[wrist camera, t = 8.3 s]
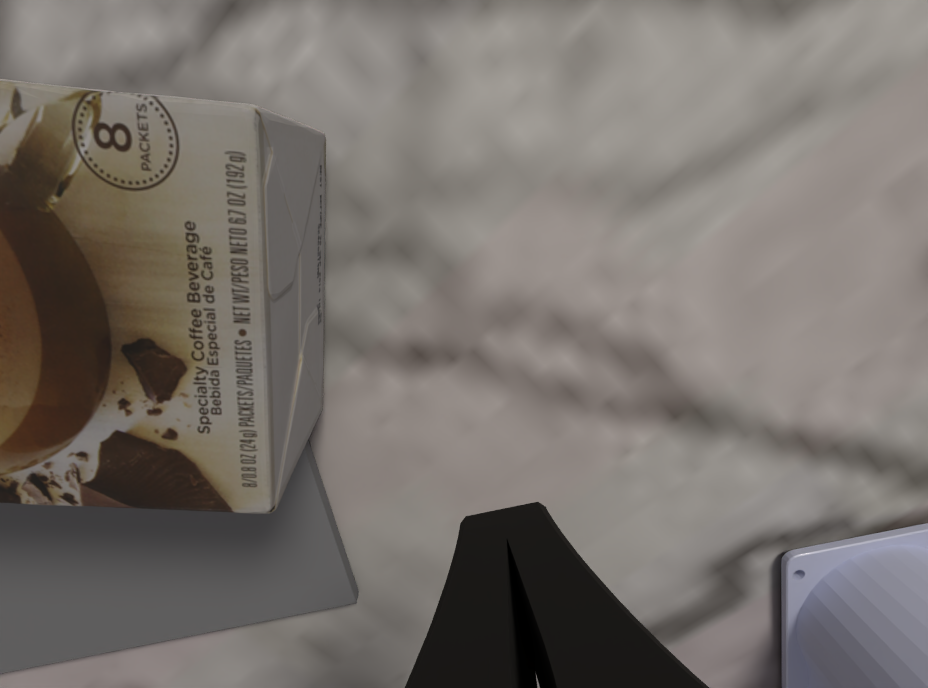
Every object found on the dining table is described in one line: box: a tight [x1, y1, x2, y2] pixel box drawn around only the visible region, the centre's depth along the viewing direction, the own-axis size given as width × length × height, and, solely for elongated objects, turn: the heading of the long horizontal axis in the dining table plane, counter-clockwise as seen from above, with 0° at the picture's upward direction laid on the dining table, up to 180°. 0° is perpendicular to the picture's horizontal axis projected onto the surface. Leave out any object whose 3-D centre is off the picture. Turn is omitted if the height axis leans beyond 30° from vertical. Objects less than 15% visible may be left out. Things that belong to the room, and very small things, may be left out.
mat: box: [0, 440, 359, 674], centre depth 18 cm, size 18×18×1 cm
